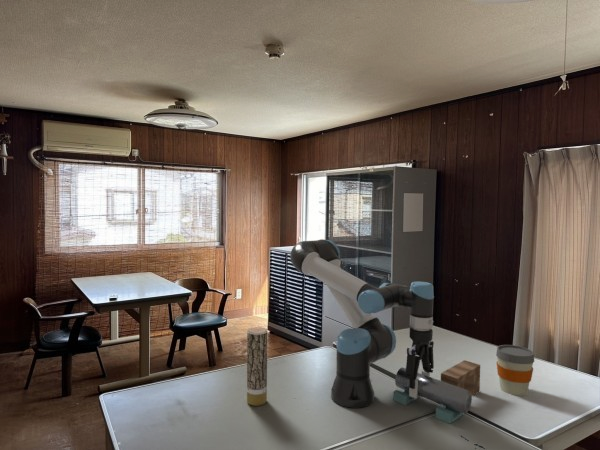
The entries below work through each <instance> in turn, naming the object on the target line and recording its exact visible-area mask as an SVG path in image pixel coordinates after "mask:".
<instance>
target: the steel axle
mask: <svg viewBox="0 0 600 450" xmlns="http://www.w3.org/2000/svg"><path fill="white" fill-rule="evenodd" d="M405 374H406V367H400V368H399V369H398V371H397V372H396V374H395V377H394V378H395V380H394V382H395V385H396V387H397V388H399V389H401V390H406V391H409V378H407V377H405ZM416 379H418V395H419V396H420V397H421V398H424V399H427V400H430V401H432V402H435V403H437V404H439V405H442V406H444V407H446V406H447V407H449V408H452V409H454V410H457V411H459V412H462V413H463V415H464V414H468V412H469V411H470V408H471V405H472V401H473V399H472V398H473V395H472V394H471V392H470V391H468V390H466V389H463V388H460V387H457V386H454V385H451V384H449V383H446V382H443V381H441V379H436V378H434V377H431V376H430V377H429V376H426V375H423V374H422V373H420V372H418V373H417V378H416Z"/></svg>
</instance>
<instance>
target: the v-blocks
mask: <svg viewBox="0 0 600 450" xmlns="http://www.w3.org/2000/svg"><path fill="white" fill-rule="evenodd" d="M403 390H404V389H403ZM392 396H393V398H392V400H393V401H395V402H398V403H400V404H402V405H404V406H406V405H408V404H410V403H413V401H416V399H415V398H413V397H410V396H409V391H406V390H404V391H400V390H398V389H395V390H394V391H393V392H392ZM420 397H421V396H419V395H417V399H419V398H420ZM462 414H463V415H464V413H462V412H459V411H457V410H454V409H452V408H449V407H447V406H445V407H441V406H437V407H436V408H435V419H438V420H440V421H443V422H445V423H448V424H452V423H453V422H454V421H456V420H458V419H459V418H460V417H461V416H463V415H462Z"/></svg>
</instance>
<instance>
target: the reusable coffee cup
mask: <svg viewBox="0 0 600 450" xmlns="http://www.w3.org/2000/svg"><path fill="white" fill-rule="evenodd" d="M495 356H496V358H497V361H496V369H497V375H498V377H499V387H500V390H501V391H503V392H504V393H506V394H510V395H513V396H518V397H520V396H521V397H522V396H526V395H528V392H529V387H530V382H531V381H532V377H533V373H534V367H533V366H534V363H535V352H534V351H533V350H532V349H529V348H527V347H524V346H520V345H514V344H513V345H512V344H501V345H498V346H497V347H496V354H495Z"/></svg>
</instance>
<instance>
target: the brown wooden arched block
mask: <svg viewBox="0 0 600 450" xmlns="http://www.w3.org/2000/svg"><path fill="white" fill-rule="evenodd" d="M480 378H481V364H478V363H476V362H471V361H468V360H462V361H460V362H458V363H457V364H454V365H453V366H451V367H449V368H447V369H446V370H444V371H442V372H441V373H440V381H443V382H446V383H449V384H451V385H454V386H457V387H460V388H463V389H466V390H468V391H470V392H471V394H472V396H473V395H474V396H476V395H477V394H478V393H479V391H480V388H481V387H480V386H481V385H480V384H481V379H480ZM477 392H478V393H477ZM476 393H477V394H476Z"/></svg>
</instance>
